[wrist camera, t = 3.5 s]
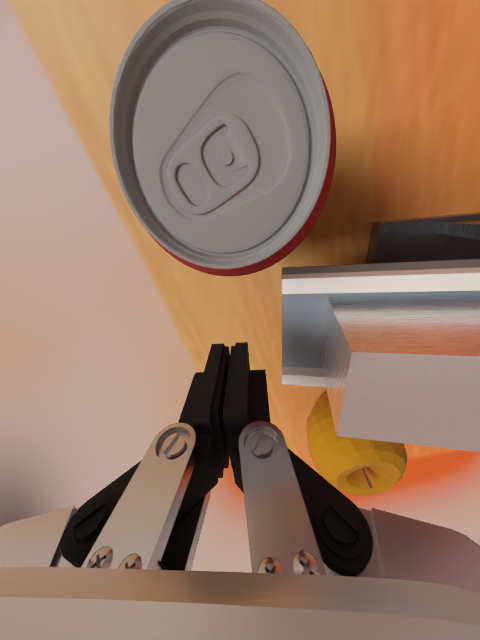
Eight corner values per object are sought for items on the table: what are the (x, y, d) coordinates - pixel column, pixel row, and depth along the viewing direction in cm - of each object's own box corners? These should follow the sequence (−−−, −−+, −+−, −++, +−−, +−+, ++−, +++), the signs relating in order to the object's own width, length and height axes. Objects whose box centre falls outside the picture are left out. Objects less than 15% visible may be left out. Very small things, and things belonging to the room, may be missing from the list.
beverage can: (301, 209, 16) (400, 209, 6) (227, 257, 18) (195, 326, 7) (256, 108, 14) (277, -241, 3) (175, 176, 16) (15, 106, 5)
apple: (283, 391, 25) (298, 475, 17) (354, 359, 22) (411, 440, 15) (315, 432, 28) (341, 519, 20) (381, 408, 25) (440, 497, 18)
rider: (326, 296, 11) (351, 352, 7) (485, 294, 10) (637, 362, 6) (320, 362, 13) (336, 436, 9) (451, 367, 12) (545, 459, 8)
